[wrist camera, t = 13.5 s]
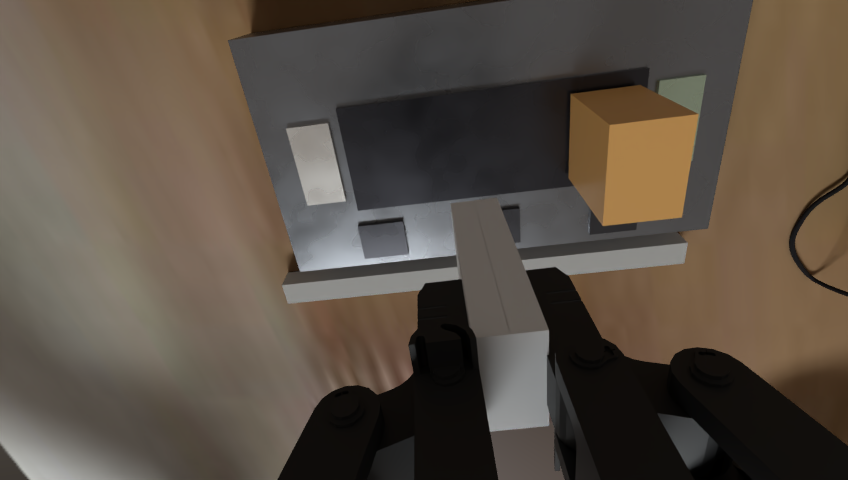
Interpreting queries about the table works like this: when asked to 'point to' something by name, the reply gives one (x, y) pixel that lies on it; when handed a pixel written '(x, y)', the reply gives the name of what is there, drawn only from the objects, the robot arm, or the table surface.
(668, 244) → the light grey rod
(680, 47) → the grey control panel
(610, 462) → the robot arm
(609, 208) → the orange rectangular block
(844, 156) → the table surface
